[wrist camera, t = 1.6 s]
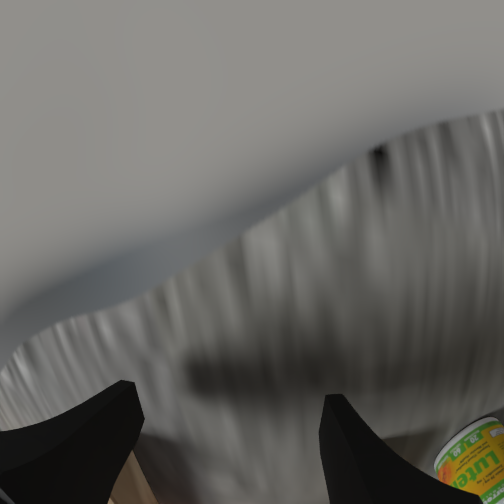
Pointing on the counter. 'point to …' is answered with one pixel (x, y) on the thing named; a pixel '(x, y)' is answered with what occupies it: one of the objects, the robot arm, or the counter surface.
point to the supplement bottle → (475, 460)
